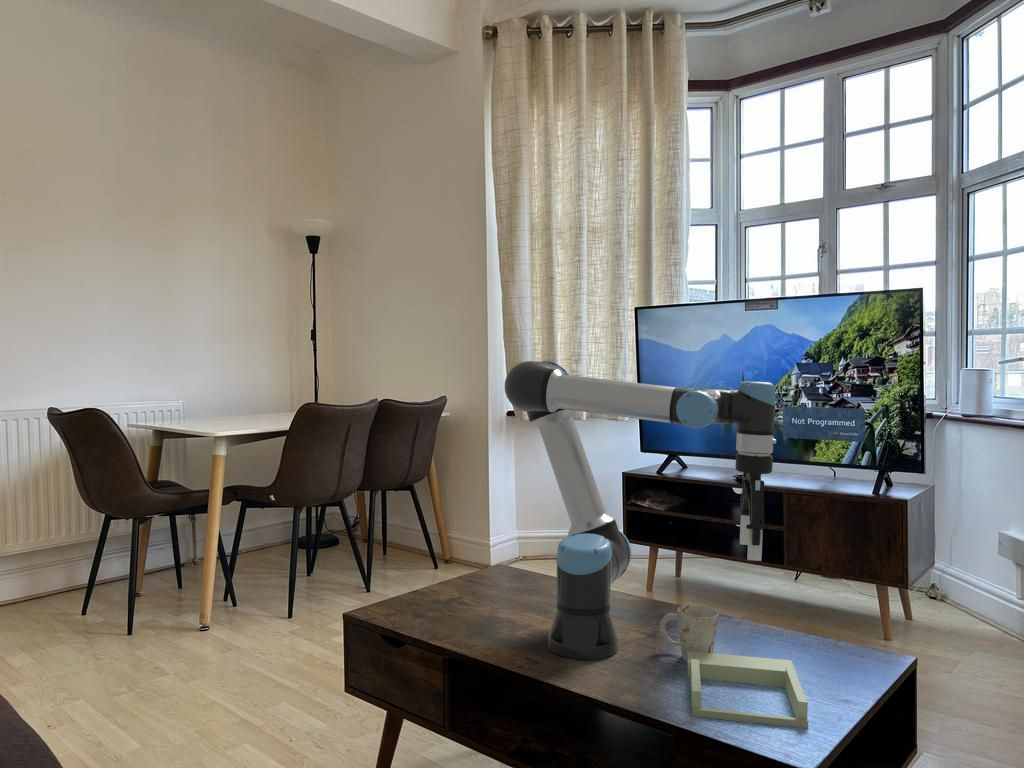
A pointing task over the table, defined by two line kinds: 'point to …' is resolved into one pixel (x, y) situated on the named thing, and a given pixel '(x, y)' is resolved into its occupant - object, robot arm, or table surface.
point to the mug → (693, 628)
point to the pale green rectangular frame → (747, 672)
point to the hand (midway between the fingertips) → (749, 552)
